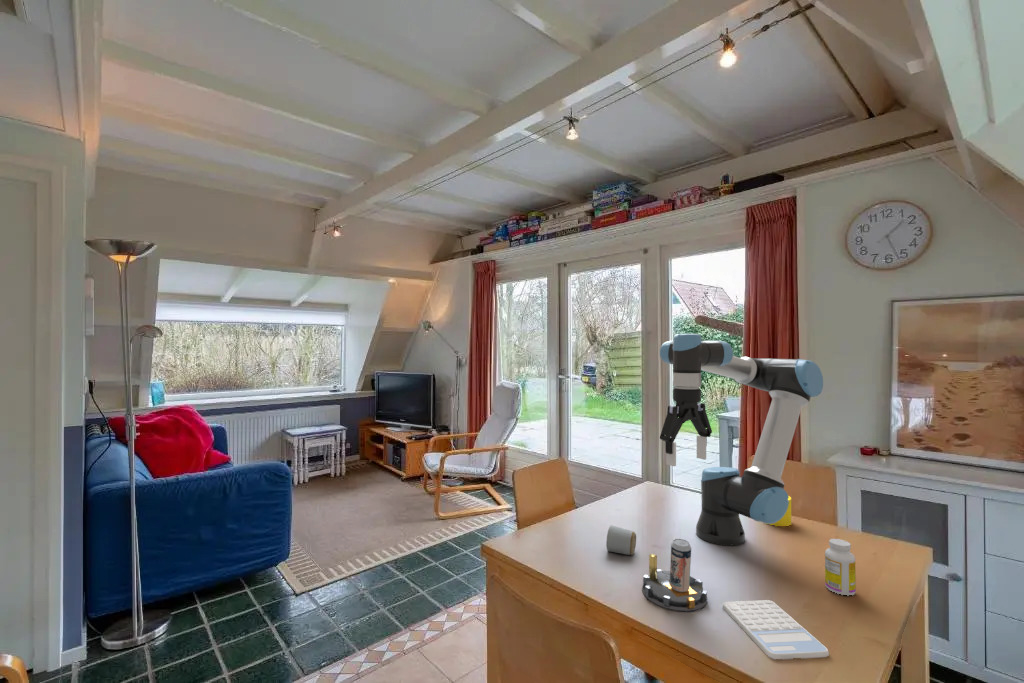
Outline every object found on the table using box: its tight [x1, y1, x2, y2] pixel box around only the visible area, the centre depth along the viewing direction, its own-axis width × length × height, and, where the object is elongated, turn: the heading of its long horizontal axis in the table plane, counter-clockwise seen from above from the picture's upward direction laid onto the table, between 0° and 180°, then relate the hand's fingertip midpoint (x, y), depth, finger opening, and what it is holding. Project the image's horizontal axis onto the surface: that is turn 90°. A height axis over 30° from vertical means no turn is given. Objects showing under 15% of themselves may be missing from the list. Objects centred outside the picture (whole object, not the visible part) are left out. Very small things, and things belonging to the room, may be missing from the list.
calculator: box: [722, 599, 830, 660], centre depth 107 cm, size 13×20×2 cm, turn 5°
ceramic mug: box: [605, 525, 637, 556], centre depth 147 cm, size 11×8×8 cm
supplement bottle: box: [824, 538, 857, 597], centre depth 124 cm, size 7×7×13 cm
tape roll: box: [769, 495, 792, 527], centre depth 171 cm, size 10×10×9 cm
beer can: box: [669, 538, 692, 592], centre depth 118 cm, size 5×5×12 cm
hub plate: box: [642, 584, 708, 613], centre depth 122 cm, size 16×16×1 cm
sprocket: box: [642, 553, 708, 609], centre depth 122 cm, size 16×16×8 cm
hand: (686, 461), depth 133 cm, fingers open, 13 cm apart
